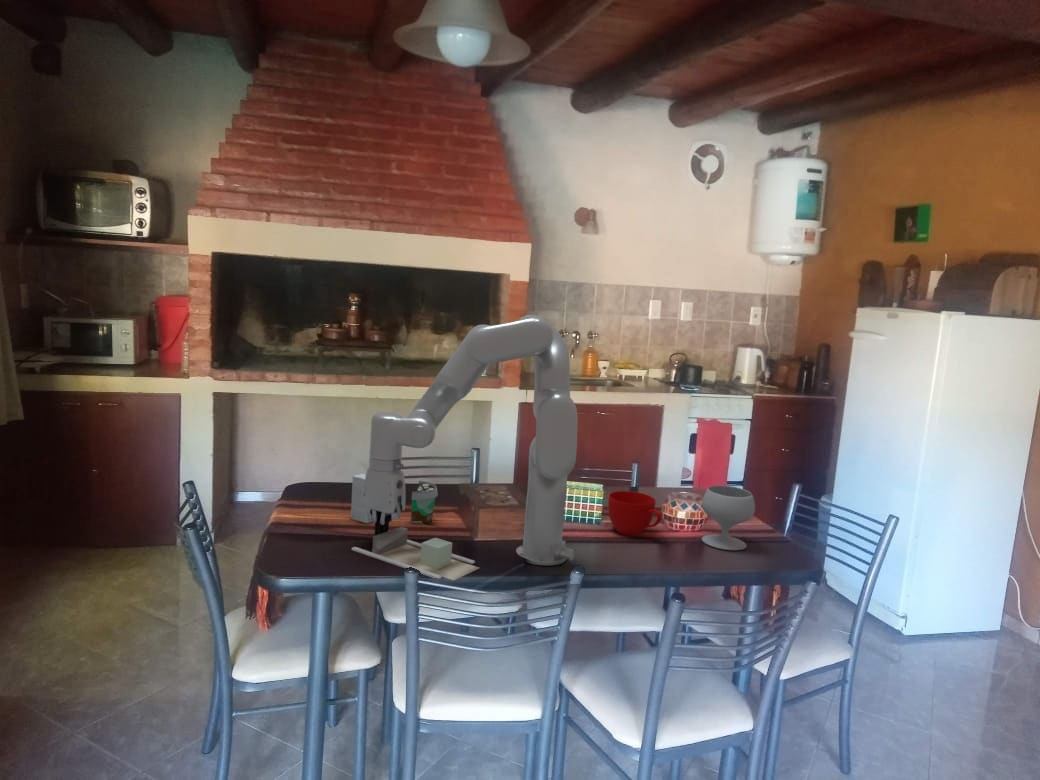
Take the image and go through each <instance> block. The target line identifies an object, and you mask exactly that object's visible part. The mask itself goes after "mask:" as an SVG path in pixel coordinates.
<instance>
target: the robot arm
mask: <svg viewBox="0 0 1040 780" xmlns="http://www.w3.org/2000/svg"><path fill="white" fill-rule="evenodd" d="M568 349H569V348H568V347H567V344H566V341H565V340H564V338H563V337H562V335H561V333H560V332H559V330H557V328H556V327H555V326H553V325H552V324H551V323H549V322H548V321H547V320H545V319H544V318H543V317H540V316H538V315H535V314H527V315H524V316H522V317H520V318H519V319H518V320H516V321H511V322H505V323H500V324H495V325H489V324H478V325H475V326H474V327H472V328H471V330H470V331H468V333H467V334H466V335H465V337H464V339H463V340H462V341H461V343H460V344H459V345H458V347H457V348H456V349H455V350H454V352H453V353H452V355H451V356H450V357H449V359H448V360H447V361H446V363H445V364H444V365H443V367H442V368H441V369H440V371H439V372H438V373H437V375H436V376H435V379H434V380H433V381H432V383H431V384H430V386H429V387H428V388H427V390H426V391H425V392H424V393H423V395H422V396H421V397H420V399H419V400H418V402H417V403H416V405H415V406H414V407H413V409H412V410H411V411H410V413H409V414H408V415H407V416H406V417H403V415H401V414H400V413H396V412H391V411H381V412H376V413H374V414H373V415H372V417H371V422H370V423H371V424H370V438H369V439H370V440H369V441H370V445H369V462H368V464H369V465H368V467H367V468H366V469H367V470H366V473H365V474H366V477H365V483H364V491H363V504H364V505H365V510H366V511H368V512H369V513H371V515H372V517H373V523H374V532H373V533H374V536H376V535H379V534H382V533H385V532H387V531H390V530H389V529H390V528H389V526H390V525H389V524H390V523H391V522H392V521H393V520H399V519H401V518H402V513H401V512H403V511H405V509H406V481H405V480H406V479H405V475H404V471H402V470H403V469H404V465H405V464H404V463H402V458H403V457H402V456H403V446H404V447H407V448H408V447H409V448H414V449H423V448H424V449H425V448H426V447H429V446H430V445H431V444H432V443H433V441H434V440H435V437H436V431H437V428H438V426H439V425H440V424H441V423H442V421H443V420H444V419H445V418H446V416H447V414H448V413H449V412H450V411H451V409H452V408H453V407H454V406H455V404H457V403H458V402H459V401H460V400H463V399H464V398H466V396H468V394H470V392H472V389H473V388H474V387H475V385H476V384H477V382H478V381H479V380H480V378H481V377H482V376H483V375H484V373H485V372H486V370H487V369H488V368H489V366H490V365H491V364H496V363H503V362H507V361H512V360H519V359H522V358H526V357H527V358H528V357H531V356H532V360H533V363H534V365H533V366H534V367H533V368H534V369H533V371H534V389H533V403H532V412H533V415H534V417H535V419H536V420H535V423H536V425H535V436H534V438H533V439H532V441H531V443H530V445H529V451H528V478H527V479H528V480H527V492H526V501H525V516H524V517H525V518H524V525H523V526H524V527H523V538H522V544H521V545H519V546H518V547H517V548H516V550H515V552H516V554H517V555H518V556H519V557H522V558H525V559H526V560H524V563H526V564H531V565H535V566H547V567H548V566H558V565H560V564H564V563H565V561H566V560H568V561H573V560H574V559H575V550H574V549H572V548H567V546H566V540H563V533H564V532H563V531H564V520H565V510H566V509H565V508H566V500H567V499H566V498H567V489H568V476H569V475H570V474H571V473H572V471H573V470H574V468H575V465H576V461H577V460H576V459H577V450H578V449H577V448H578V446H577V444H578V422H579V421H578V411H577V406H576V403H575V402H574V400H573V399H572V398H571V367H570V366H571V364H570V362H571V361H570V354H569V350H568Z"/></svg>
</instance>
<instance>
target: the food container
mask: <svg viewBox="0 0 1040 780" xmlns="http://www.w3.org/2000/svg"><path fill="white" fill-rule="evenodd" d="M438 495H439V492H438V488H437V485H436V484H435V483H432V482H429V481H425V480H418V486H416V487H415V489H414V491H412V492H411V511H410V512H411V513H410V514H411V515H410V516H411V517H410V523H412V524H423V525H426V526H430V525H431V524H432V522H433V516H434V510H435V509H434V508H435V500H436V498H437V497H438Z"/></svg>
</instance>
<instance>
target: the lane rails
mask: <svg viewBox="0 0 1040 780" xmlns="http://www.w3.org/2000/svg"><path fill="white" fill-rule="evenodd" d="M407 545H410V546H414V547H417V548H420V549H421V545H422V543H420V542H417V541H413V540H411V539H408V538H407ZM351 551H354V552H357V553H359V554H363V555H366V556H368V557H370V558H374V559H377V560H380V561H383V562H386V563H389V564H392V565H394V566H397V567H400V568H403V569H406V568H409V567H412V568H415V569H417V570H419V571H420V573H421V575H424V576H427V577H429V578H432V579H435V578H438V579H437V580H440V579H442V578H443V577H442V576H440V575H437V574H434V573H431V572H428V571H425V570H422V569H419V568H416V567H413V566H410V565H407V564H404V563H402V562H399V561H396V560H393V559H390V558H387V557H384V556H381V555H378V554H375V553H372V551H369V550H366V549H362V548H360V547H356V546H353V547H351ZM451 559H454V560H457V561H460V562H463V563H466V564H469V565H473V564H475V563H476V561H475V560H473V559H470V558H469V557H468V558H467V557H464V556H461V555H457V554H454V553H452V555H451ZM420 573H419V574H420Z"/></svg>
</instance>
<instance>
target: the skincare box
mask: <svg viewBox="0 0 1040 780" xmlns="http://www.w3.org/2000/svg"><path fill="white" fill-rule="evenodd" d="M365 477H366V473H361V474H356V475H353V476H352V481H351V482H352V486H351V487H352V488H351V503H350V504H351V505H350V520H354V521H357V522H361V523H364V524H369V523H372V522H373V517H372V515H371V513H369V512H368V511H366V510H365V505H364V504H363V491H364V483H365ZM373 523H374V522H373Z"/></svg>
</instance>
